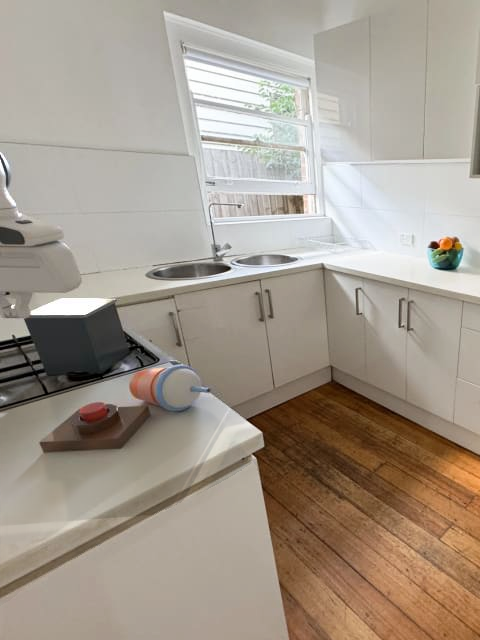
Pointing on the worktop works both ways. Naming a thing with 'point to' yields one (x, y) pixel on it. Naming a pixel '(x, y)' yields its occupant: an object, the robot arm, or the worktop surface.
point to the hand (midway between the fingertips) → (17, 317)
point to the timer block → (96, 430)
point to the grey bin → (79, 342)
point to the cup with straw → (168, 387)
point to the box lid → (71, 308)
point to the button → (93, 411)
